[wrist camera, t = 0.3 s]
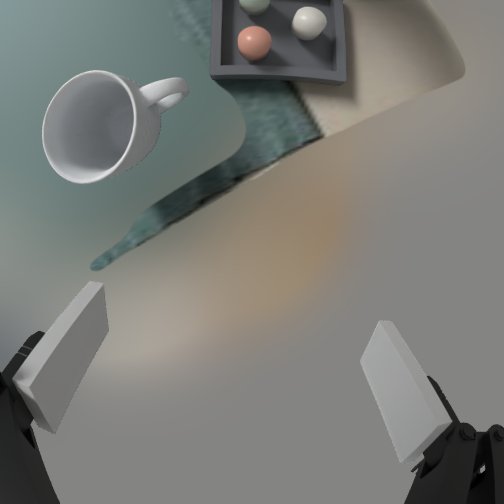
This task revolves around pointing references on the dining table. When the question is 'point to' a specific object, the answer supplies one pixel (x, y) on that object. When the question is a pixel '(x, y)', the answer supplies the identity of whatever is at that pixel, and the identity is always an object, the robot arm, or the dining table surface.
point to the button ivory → (308, 23)
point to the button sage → (254, 6)
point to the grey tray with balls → (279, 43)
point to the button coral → (254, 43)
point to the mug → (105, 123)
